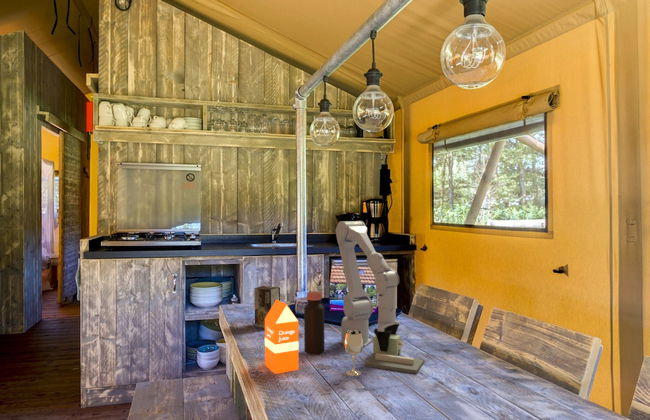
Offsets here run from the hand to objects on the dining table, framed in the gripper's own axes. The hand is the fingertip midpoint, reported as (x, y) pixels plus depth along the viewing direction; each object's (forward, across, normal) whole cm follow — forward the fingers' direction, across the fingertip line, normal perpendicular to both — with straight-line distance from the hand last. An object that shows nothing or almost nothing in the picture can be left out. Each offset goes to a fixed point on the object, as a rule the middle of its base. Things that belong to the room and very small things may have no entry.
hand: (387, 347), depth 147 cm
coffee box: (+2, +14, +55) cm, 57 cm away
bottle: (+2, -8, +23) cm, 24 cm away
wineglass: (+2, -21, +4) cm, 21 cm away
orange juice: (+2, -25, +26) cm, 36 cm away
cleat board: (+2, -9, -5) cm, 10 cm away
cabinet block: (+2, 0, 0) cm, 2 cm away
